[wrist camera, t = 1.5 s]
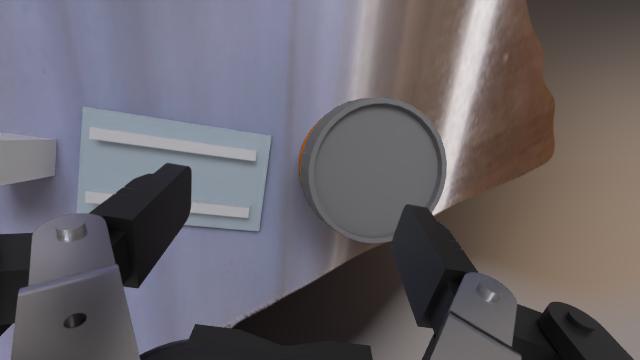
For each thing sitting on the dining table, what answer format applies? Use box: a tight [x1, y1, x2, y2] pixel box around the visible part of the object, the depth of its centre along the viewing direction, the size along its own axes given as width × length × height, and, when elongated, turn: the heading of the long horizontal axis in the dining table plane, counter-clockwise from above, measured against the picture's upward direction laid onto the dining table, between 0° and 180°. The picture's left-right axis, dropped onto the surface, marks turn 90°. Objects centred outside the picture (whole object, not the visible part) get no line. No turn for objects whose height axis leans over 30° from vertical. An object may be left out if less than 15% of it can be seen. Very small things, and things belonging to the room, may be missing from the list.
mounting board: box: [76, 106, 272, 231], centre depth 34 cm, size 20×12×2 cm, turn 81°
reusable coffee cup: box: [299, 98, 447, 243], centre depth 32 cm, size 12×13×15 cm
